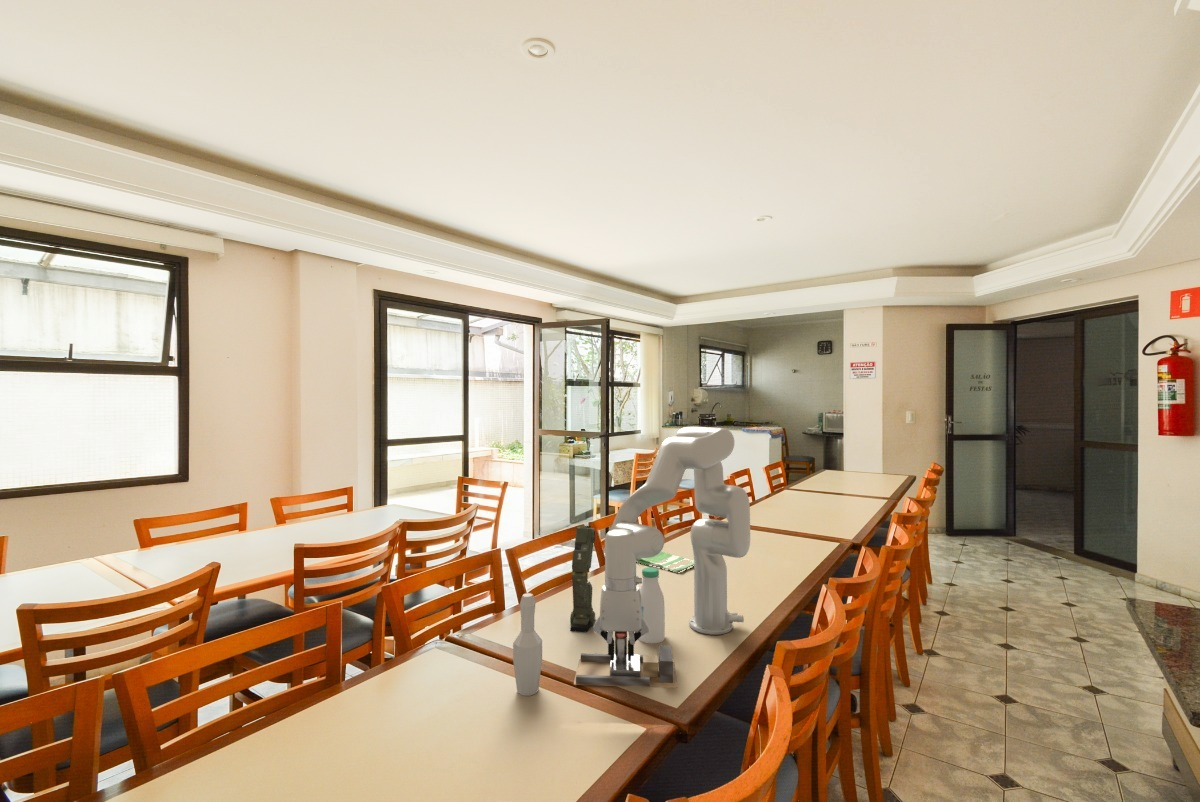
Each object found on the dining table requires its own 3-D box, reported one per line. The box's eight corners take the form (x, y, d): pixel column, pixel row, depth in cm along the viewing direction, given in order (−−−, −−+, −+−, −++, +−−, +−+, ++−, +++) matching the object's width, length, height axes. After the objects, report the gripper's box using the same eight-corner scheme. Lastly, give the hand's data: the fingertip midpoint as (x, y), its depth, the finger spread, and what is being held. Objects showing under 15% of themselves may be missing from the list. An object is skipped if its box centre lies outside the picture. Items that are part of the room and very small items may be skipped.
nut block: (657, 670, 128) (657, 655, 128) (658, 677, 125) (658, 662, 125) (643, 669, 129) (643, 655, 129) (643, 677, 125) (643, 662, 125)
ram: (639, 664, 131) (639, 624, 131) (639, 681, 123) (639, 638, 123) (611, 663, 131) (611, 623, 132) (609, 680, 123) (609, 638, 124)
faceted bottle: (529, 701, 117) (529, 602, 118) (508, 692, 121) (507, 596, 121) (547, 687, 123) (546, 593, 123) (526, 680, 126) (525, 588, 126)
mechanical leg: (587, 635, 149) (592, 525, 156) (562, 632, 150) (569, 524, 157) (597, 627, 162) (601, 526, 169) (574, 625, 163) (579, 525, 170)
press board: (674, 666, 132) (674, 642, 132) (678, 693, 120) (677, 665, 120) (579, 663, 134) (579, 639, 134) (573, 689, 122) (573, 662, 122)
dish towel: (679, 575, 204) (679, 568, 204) (632, 563, 220) (632, 557, 220) (703, 565, 217) (703, 558, 217) (657, 554, 233) (657, 548, 233)
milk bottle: (667, 637, 149) (667, 566, 149) (661, 649, 142) (661, 575, 142) (640, 633, 152) (640, 564, 152) (633, 645, 144) (633, 572, 144)
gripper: (654, 577, 131) (654, 652, 131) (588, 576, 132) (588, 650, 132) (655, 588, 123) (656, 667, 123) (585, 587, 124) (585, 665, 124)
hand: (621, 657), depth 127 cm, fingers open, 3 cm apart
